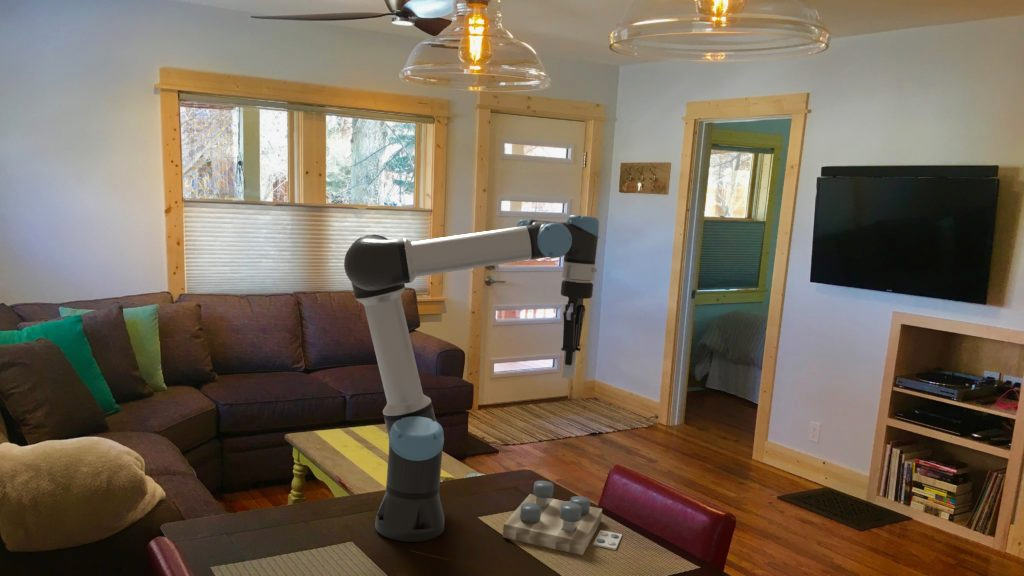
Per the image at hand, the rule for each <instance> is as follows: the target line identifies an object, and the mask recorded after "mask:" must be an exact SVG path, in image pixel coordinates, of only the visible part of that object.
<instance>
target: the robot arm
mask: <svg viewBox="0 0 1024 576" xmlns="http://www.w3.org/2000/svg"><path fill="white" fill-rule="evenodd" d="M599 224H600V223H599V220H598V218H597V217H595V216H587V215H577V214H570V215H568V216H567V220H566V221H565V222H564V221H563V222H562V221H561V222H559V221H550V220H549V221H548V220H538V219H533V218H530V219H519V220H518V222H517V223H516V226H515V227H506V228H499V229H493V230H488V231H487V230H486V231H479V232H471V233H466V234H465V233H464V234H458V235H450V236H443V237H435V238H428V239H421V240H417V241H416V240H415V241H414V240H413V241H410V240H409V239H407V238H406V237H404V238H403V237H402V238H396V239H388V238H387V237H385V236H383V235H379V234H366V235H364V236H361V237H359V238H358V239H356V240H355V241H354V242H353V243H352V244H351V245H350V247H349V248H348V249H347V251H346V253H345V256H344V259H343V267H344V268H343V269H344V270H345V271H344V272H345V273H346V274H345V275H346V277H347V278H348V280H349V281H350V282H351V286H352V289H353V294H354V298H355V300H356V301H357V302H359V303H360V304H362V305H363V307H364V312H365V316H366V321H367V323H368V327H369V332H370V336H371V340H372V345H373V348H374V352H375V357H376V362H377V367H378V371H379V374H380V378H381V383H382V388H383V390H384V395H385V399H386V405H385V406H384V408H383V410H382V416H383V418H384V419H383V420H384V423H385V429H386V432H387V437H388V454H387V455H388V458H387V459H388V460H387V468H386V469H387V471H386V483H385V487H386V488H385V493H384V496H383V498H382V500H381V503H380V505H379V508H378V510H377V513H376V516H375V525H374V529H375V531H377V533H378V534H380V535H381V536H383V537H385V538H388V539H390V540H392V541H398V542H408V543H416V542H424V541H425V542H426V541H429V540H433V539H435V538H437V537H439V536H441V535H442V534H443V532H444V531H445V524H446V523H445V522H446V521H445V518H446V517H445V514H444V510H443V506H442V503H441V499H440V485H441V474H442V473H441V472H442V471H441V470H442V461H443V460H442V458H443V450H444V449H443V447H444V443H445V437H444V429H443V426H442V425H441V424H440V423H439V422H438V420H437V419H436V416H435V410H434V406H433V403H432V399H431V397H429V396H427V395H425V394H424V393H423V388H422V384H421V378H420V375H419V371H418V366H417V365H418V364H417V362H416V358H415V357H416V356H415V353H414V349H413V344H412V341H411V335H410V331H409V328H408V323H407V318H406V314H405V309H404V306H403V301H402V294H403V292H404V291H405V289H406V286H405V284H411V283H413V282H414V281H415V279H416V278H418V277H419V278H420V277H426V276H430V275H431V276H433V275H438V274H443V273H445V274H446V273H451V272H457V271H463V270H464V271H465V270H471V269H478V268H483V267H490V266H498V265H504V264H509V263H516V262H522V261H528V260H529V261H530V260H537V259H544V258H548V259H549V258H550V259H556V258H557V259H558V258H561V257H563V263H562V273H561V274H562V275H561V277H562V278H563V280H562V281H561V288H560V294H561V297H567V298H568V300H567V304H565V308H564V311H563V313H562V315H563V332H562V333H563V335H562V347H561V349H560V350H561V351H563V352H564V355H563V362H562V363H563V364H562V375H561V377H562V378H566V379H571V380H573V379H575V375H576V374H575V373H576V366H577V365H576V363H577V356H578V355H577V354H578V352H581V350H582V349H581V347H580V345H581V338H582V337H581V336H582V330H583V323H584V317H585V312H586V306H585V304H584V300H587V299H588V300H589V299H591V298H592V297H593V291H594V289H593V288H594V284H593V282H592V281H594V278H595V273H597V272H598V269H597V268H595V266H596V259H597V258H596V256H597V250H598V240H599V237H600V236H599V228H600V226H599Z"/></svg>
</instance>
